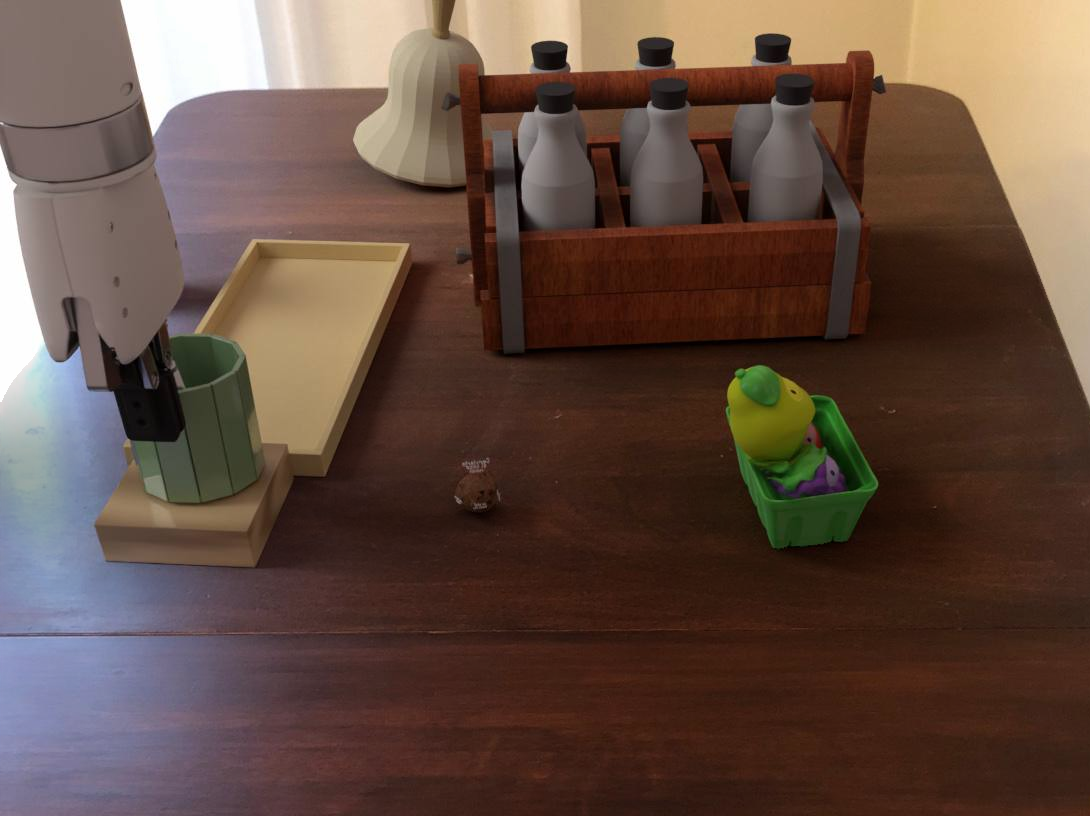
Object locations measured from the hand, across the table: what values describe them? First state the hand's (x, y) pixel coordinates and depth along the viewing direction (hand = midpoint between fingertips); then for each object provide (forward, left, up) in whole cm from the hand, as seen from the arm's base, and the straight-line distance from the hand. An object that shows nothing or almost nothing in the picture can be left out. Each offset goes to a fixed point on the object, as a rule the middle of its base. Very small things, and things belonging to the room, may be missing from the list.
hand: (157, 433), depth 82 cm
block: (-2, +3, -10) cm, 10 cm away
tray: (-13, +22, -10) cm, 28 cm away
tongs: (-3, +5, -6) cm, 8 cm away
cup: (-3, +5, -6) cm, 8 cm away
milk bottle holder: (+6, +48, -10) cm, 50 cm away
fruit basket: (+30, +26, -10) cm, 41 cm away
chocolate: (+13, +14, -10) cm, 21 cm away
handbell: (-28, +58, -10) cm, 66 cm away
